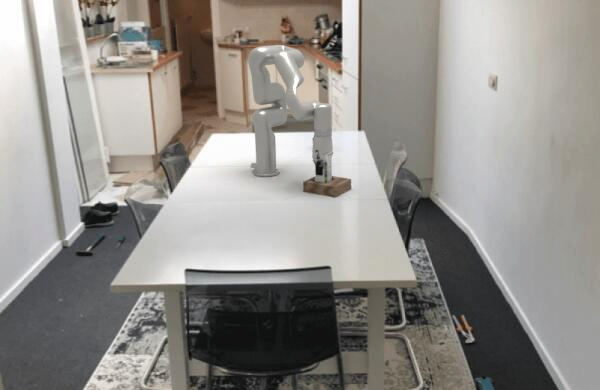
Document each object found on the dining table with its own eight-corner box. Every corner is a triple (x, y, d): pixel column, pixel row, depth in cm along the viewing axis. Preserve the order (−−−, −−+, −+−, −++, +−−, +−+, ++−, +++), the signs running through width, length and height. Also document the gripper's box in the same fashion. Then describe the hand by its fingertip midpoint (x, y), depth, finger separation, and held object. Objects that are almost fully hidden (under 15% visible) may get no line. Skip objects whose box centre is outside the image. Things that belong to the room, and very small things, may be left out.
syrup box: (314, 185, 284) (314, 152, 280) (320, 181, 289) (320, 149, 285) (326, 186, 282) (326, 154, 277) (332, 183, 286) (332, 151, 282)
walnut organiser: (303, 191, 284) (303, 181, 282) (319, 183, 295) (319, 174, 293) (335, 197, 275) (335, 187, 274) (351, 188, 286) (351, 178, 285)
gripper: (325, 128, 287) (325, 167, 293) (304, 135, 273) (305, 176, 279) (340, 129, 283) (340, 169, 289) (320, 137, 269) (320, 179, 275)
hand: (323, 172), depth 284 cm, fingers closed on syrup box, 6 cm apart
